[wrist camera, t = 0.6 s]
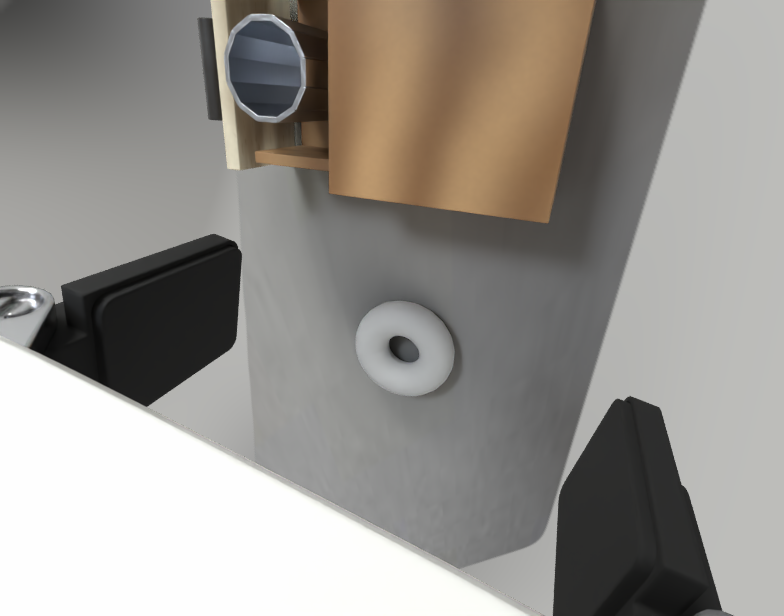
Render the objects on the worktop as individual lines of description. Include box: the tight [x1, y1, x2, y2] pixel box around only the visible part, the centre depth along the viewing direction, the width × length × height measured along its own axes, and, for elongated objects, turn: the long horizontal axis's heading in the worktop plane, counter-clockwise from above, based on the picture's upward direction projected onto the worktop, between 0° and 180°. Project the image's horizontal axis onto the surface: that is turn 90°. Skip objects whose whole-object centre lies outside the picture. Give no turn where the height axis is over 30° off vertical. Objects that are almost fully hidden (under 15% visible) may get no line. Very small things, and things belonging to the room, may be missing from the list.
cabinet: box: [328, 0, 596, 223], centre depth 29 cm, size 15×15×10 cm
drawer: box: [197, 0, 329, 171], centre depth 33 cm, size 18×13×8 cm
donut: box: [356, 300, 455, 396], centre depth 43 cm, size 10×3×10 cm
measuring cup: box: [224, 14, 329, 123], centre depth 31 cm, size 6×6×9 cm
